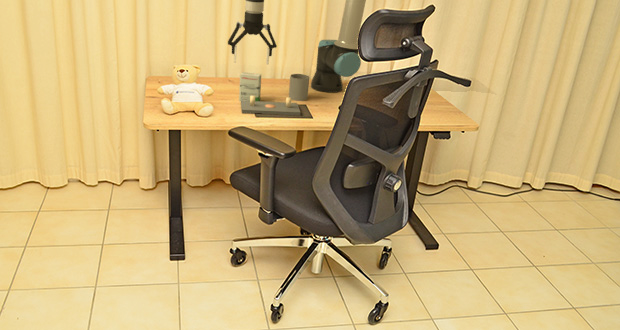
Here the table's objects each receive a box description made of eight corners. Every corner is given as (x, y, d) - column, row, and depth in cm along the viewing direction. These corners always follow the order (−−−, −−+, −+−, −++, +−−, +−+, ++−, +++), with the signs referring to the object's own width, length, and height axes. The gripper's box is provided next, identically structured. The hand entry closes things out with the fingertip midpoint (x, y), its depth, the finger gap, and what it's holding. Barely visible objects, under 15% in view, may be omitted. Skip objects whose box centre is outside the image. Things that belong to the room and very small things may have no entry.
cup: (304, 102, 266) (307, 80, 262) (286, 99, 267) (288, 77, 263) (308, 96, 274) (310, 75, 270) (291, 94, 275) (293, 72, 271)
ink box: (260, 100, 263) (262, 73, 258) (258, 103, 258) (260, 76, 253) (240, 97, 263) (242, 71, 258) (238, 101, 258) (239, 74, 254)
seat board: (296, 106, 259) (297, 94, 257) (300, 115, 248) (301, 103, 246) (240, 103, 255) (241, 91, 253) (241, 113, 244) (242, 100, 242)
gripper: (283, 12, 251) (279, 62, 259) (223, 7, 247) (221, 58, 255) (285, 15, 244) (281, 66, 253) (223, 10, 240) (221, 63, 249)
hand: (251, 62), depth 254 cm, fingers open, 13 cm apart
